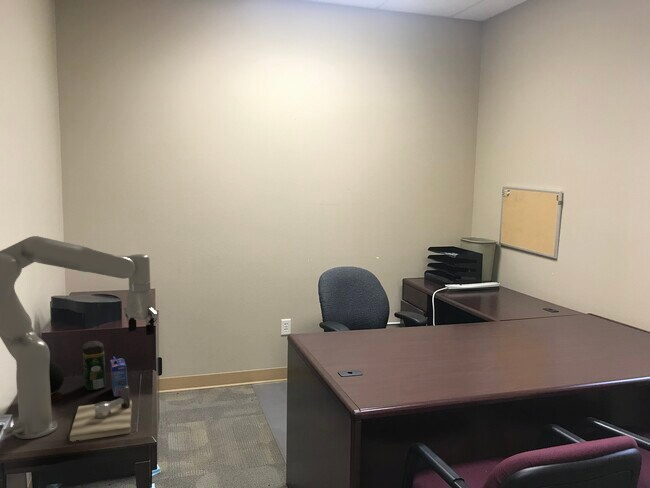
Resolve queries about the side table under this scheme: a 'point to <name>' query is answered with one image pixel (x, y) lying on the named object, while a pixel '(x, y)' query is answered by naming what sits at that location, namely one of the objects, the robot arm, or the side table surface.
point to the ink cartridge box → (118, 375)
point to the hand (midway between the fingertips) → (141, 332)
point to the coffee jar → (94, 365)
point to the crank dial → (113, 403)
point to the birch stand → (100, 423)
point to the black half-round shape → (55, 381)
